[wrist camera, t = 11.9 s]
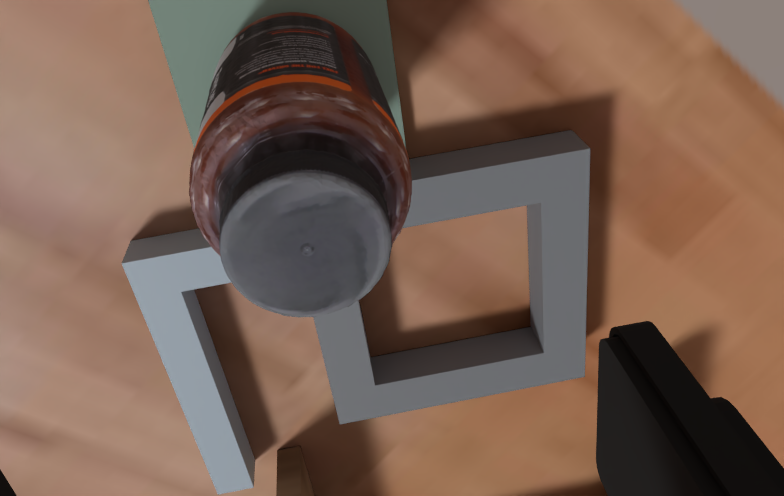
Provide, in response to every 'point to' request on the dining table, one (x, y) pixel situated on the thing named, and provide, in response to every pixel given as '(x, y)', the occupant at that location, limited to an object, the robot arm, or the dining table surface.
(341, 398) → the hole board
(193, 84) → the pad
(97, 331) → the dining table surface
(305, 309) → the supplement bottle
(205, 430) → the crook tool
